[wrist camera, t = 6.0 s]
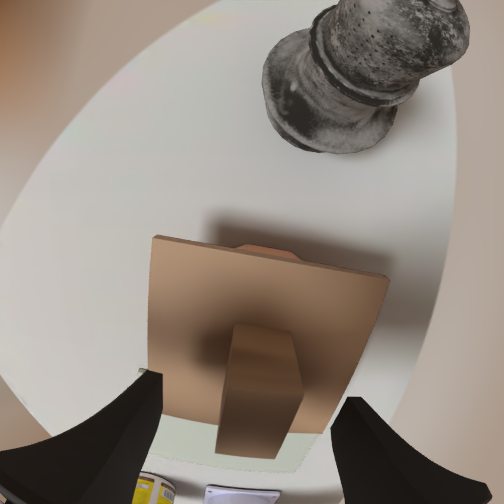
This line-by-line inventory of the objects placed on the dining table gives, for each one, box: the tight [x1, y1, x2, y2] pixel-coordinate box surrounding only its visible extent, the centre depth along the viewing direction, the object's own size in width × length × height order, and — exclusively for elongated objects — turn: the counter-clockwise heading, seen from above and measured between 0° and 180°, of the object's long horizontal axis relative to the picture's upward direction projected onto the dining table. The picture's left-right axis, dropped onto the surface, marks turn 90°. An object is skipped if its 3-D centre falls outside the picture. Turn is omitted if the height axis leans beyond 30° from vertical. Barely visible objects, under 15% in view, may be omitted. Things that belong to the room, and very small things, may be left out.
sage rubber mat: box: [138, 368, 318, 473], centre depth 19 cm, size 11×14×1 cm
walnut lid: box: [148, 235, 390, 459], centre depth 11 cm, size 10×10×5 cm
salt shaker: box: [262, 0, 470, 154], centre depth 7 cm, size 6×6×12 cm
